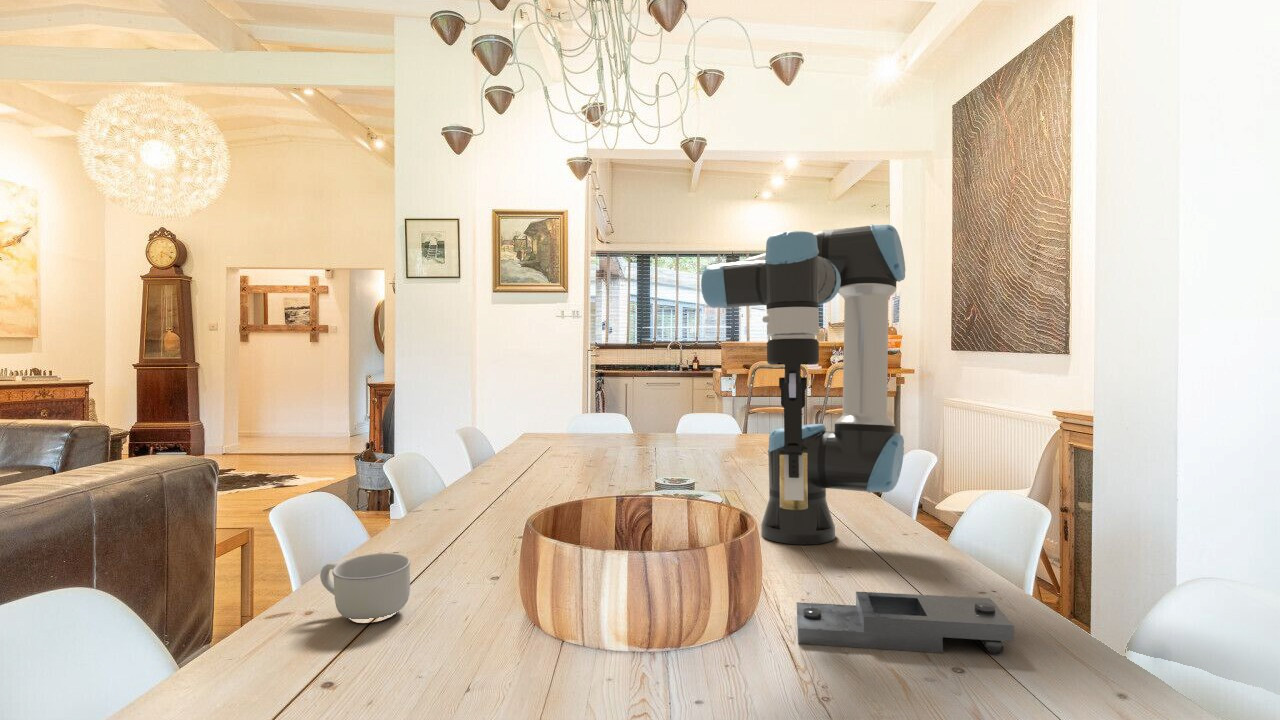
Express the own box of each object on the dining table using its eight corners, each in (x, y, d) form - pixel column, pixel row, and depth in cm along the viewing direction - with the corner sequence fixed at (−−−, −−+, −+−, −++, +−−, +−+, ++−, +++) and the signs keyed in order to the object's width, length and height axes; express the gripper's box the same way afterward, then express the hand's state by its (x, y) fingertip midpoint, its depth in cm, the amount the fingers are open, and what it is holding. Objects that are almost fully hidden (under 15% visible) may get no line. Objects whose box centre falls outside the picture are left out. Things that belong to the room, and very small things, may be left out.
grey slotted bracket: (796, 616, 102) (796, 584, 102) (990, 627, 96) (990, 593, 96) (798, 643, 92) (797, 608, 92) (1014, 657, 87) (1013, 620, 87)
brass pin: (780, 503, 106) (780, 450, 106) (807, 505, 105) (807, 451, 105) (779, 509, 102) (779, 454, 102) (807, 510, 101) (807, 454, 101)
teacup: (426, 609, 106) (425, 557, 106) (371, 635, 97) (370, 577, 97) (358, 597, 112) (358, 547, 112) (300, 621, 103) (299, 566, 103)
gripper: (769, 340, 112) (771, 486, 112) (763, 336, 97) (765, 507, 96) (817, 339, 111) (819, 488, 111) (819, 335, 95) (821, 509, 95)
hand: (794, 496), depth 103 cm, fingers closed on brass pin, 3 cm apart
